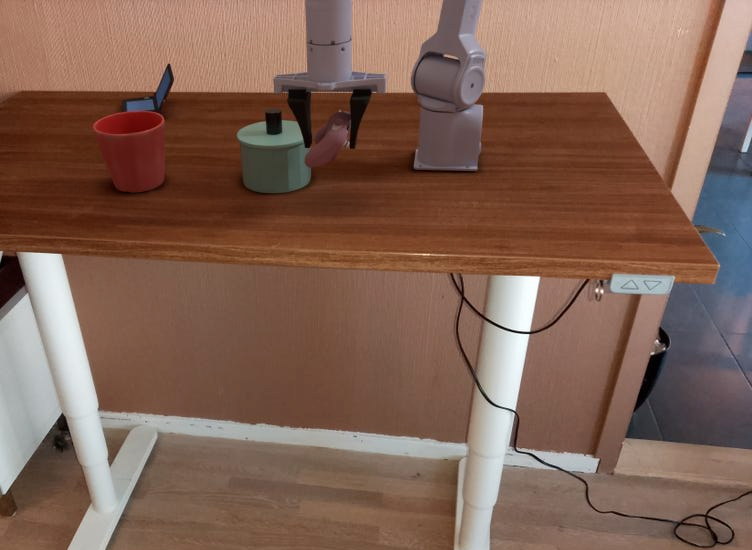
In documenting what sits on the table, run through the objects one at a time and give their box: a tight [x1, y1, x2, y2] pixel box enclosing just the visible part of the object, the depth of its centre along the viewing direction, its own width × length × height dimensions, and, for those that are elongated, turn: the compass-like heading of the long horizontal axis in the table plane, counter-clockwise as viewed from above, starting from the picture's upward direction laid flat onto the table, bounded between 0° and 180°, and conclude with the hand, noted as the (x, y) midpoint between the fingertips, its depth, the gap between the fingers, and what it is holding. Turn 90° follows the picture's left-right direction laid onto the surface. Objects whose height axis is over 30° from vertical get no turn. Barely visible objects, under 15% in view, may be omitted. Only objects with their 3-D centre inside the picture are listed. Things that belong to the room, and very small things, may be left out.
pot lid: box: [236, 107, 304, 149], centre depth 106 cm, size 11×11×4 cm
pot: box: [239, 142, 312, 194], centre depth 109 cm, size 10×10×7 cm
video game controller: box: [304, 109, 351, 169], centre depth 97 cm, size 10×5×7 cm, turn 169°
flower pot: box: [92, 111, 166, 193], centre depth 110 cm, size 11×11×10 cm
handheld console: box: [121, 62, 175, 116], centre depth 141 cm, size 12×11×7 cm
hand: (330, 146), depth 98 cm, fingers closed on video game controller, 5 cm apart
